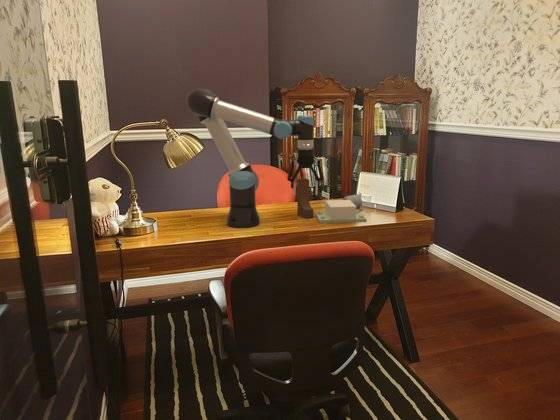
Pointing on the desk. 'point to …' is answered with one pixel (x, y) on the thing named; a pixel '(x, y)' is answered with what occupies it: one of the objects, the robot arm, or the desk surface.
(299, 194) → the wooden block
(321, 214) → the tower base
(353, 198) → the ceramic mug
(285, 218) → the desk surface
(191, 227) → the desk surface
